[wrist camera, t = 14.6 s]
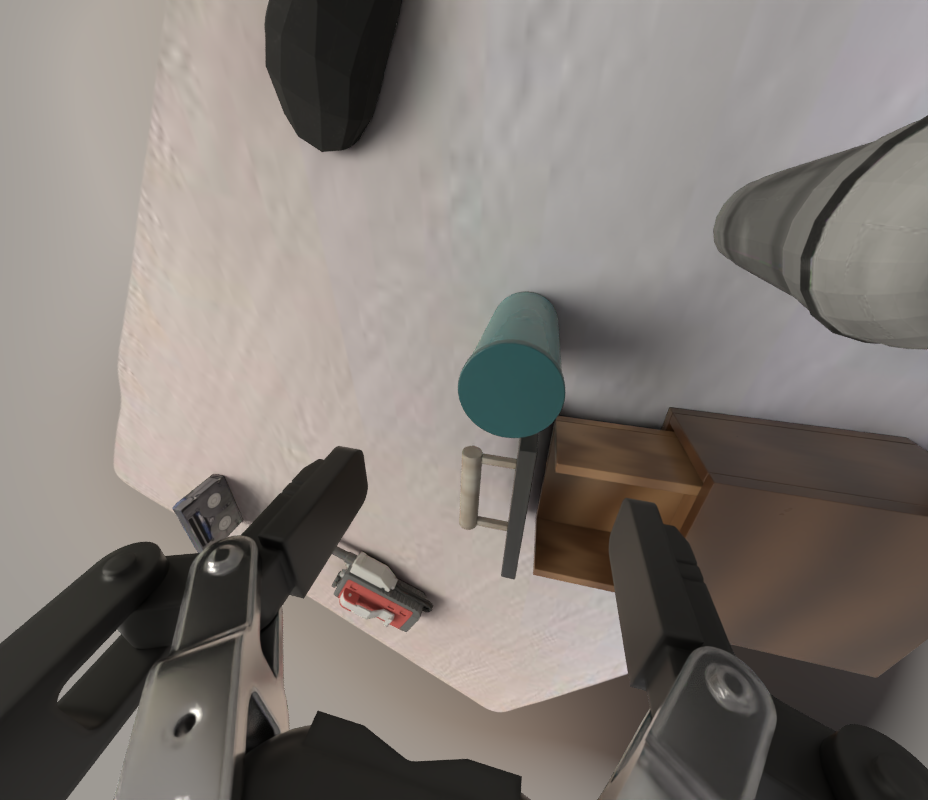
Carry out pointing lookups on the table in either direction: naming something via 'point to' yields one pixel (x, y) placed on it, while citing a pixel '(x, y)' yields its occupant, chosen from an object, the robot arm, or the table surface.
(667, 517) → the drawer
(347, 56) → the gaming mouse
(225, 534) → the mini dv tape
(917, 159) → the beverage cup
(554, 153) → the table surface
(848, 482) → the cabinet
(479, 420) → the tin
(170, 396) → the table surface
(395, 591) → the walkie-talkie
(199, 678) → the robot arm
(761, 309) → the table surface
